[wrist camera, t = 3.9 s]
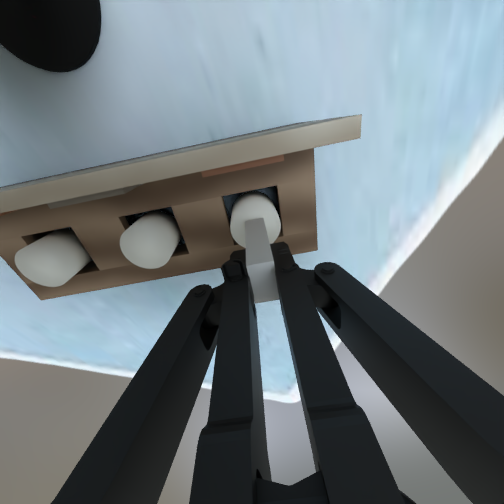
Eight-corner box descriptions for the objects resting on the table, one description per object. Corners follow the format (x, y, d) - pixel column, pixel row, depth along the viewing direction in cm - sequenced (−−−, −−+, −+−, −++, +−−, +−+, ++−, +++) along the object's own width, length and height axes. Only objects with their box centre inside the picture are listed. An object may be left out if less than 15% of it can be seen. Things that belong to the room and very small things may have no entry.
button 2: (227, 195, 21) (224, 208, 18) (271, 186, 21) (277, 197, 17) (237, 235, 23) (236, 253, 20) (277, 227, 23) (283, 244, 20)
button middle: (131, 214, 22) (110, 230, 18) (173, 206, 21) (159, 221, 18) (149, 251, 24) (133, 272, 20) (187, 244, 24) (178, 264, 20)
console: (12, 184, 24) (-224, 239, 12) (296, 123, 22) (361, 114, 10) (76, 270, 30) (-38, 366, 18) (303, 227, 28) (350, 302, 16)
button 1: (40, 233, 22) (2, 252, 19) (79, 225, 22) (49, 242, 18) (66, 267, 24) (36, 290, 21) (102, 260, 24) (78, 282, 21)
